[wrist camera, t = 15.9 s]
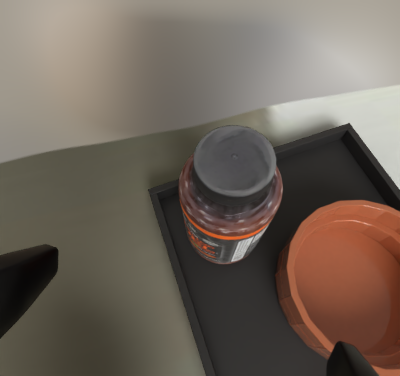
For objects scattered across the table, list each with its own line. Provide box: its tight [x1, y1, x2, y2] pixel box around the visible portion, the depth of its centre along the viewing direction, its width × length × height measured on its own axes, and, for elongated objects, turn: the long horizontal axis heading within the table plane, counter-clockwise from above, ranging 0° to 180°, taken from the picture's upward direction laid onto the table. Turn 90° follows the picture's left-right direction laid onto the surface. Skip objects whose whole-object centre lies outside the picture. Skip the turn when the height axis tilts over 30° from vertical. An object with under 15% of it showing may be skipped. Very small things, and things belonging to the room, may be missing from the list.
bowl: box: [275, 200, 400, 376], centre depth 20 cm, size 11×11×4 cm
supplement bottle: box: [179, 125, 283, 264], centre depth 19 cm, size 6×6×11 cm
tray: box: [148, 123, 400, 376], centre depth 22 cm, size 19×19×2 cm
